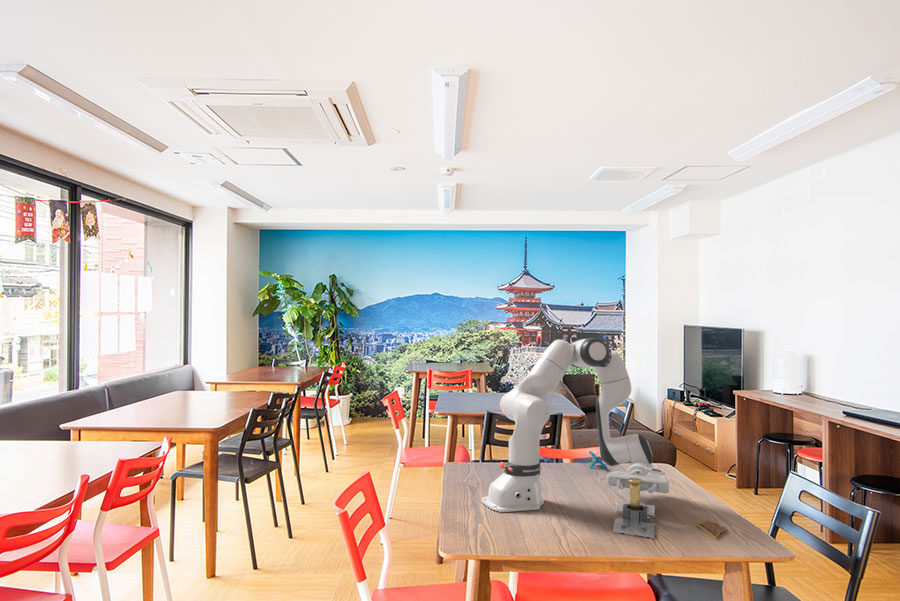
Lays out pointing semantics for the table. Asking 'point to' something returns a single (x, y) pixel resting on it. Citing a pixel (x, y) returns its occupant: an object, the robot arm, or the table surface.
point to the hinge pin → (634, 493)
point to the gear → (596, 460)
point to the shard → (711, 528)
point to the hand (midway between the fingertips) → (635, 488)
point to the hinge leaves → (635, 520)
